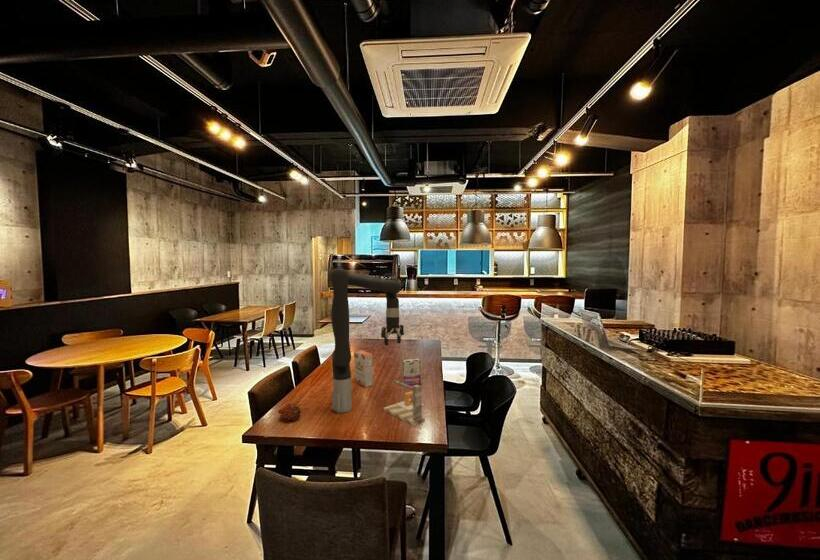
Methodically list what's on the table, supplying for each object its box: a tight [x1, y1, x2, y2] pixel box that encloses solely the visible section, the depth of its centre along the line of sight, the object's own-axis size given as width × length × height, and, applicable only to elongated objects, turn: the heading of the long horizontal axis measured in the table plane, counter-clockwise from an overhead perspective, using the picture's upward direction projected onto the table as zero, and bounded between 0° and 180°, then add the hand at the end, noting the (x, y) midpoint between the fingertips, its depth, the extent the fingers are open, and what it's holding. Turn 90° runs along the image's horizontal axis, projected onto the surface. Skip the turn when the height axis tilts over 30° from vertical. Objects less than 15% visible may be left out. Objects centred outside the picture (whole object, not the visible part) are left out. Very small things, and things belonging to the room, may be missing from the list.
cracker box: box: [353, 349, 374, 388], centre depth 222 cm, size 14×6×21 cm, turn 37°
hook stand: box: [383, 379, 426, 427], centre depth 174 cm, size 24×7×18 cm, turn 41°
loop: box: [403, 390, 413, 406], centre depth 187 cm, size 6×2×6 cm, turn 131°
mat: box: [395, 398, 425, 412], centre depth 188 cm, size 11×11×1 cm
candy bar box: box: [401, 358, 422, 387], centre depth 220 cm, size 11×5×16 cm, turn 101°
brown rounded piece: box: [277, 403, 302, 422], centre depth 172 cm, size 8×8×12 cm
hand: (392, 344), depth 195 cm, fingers open, 8 cm apart
